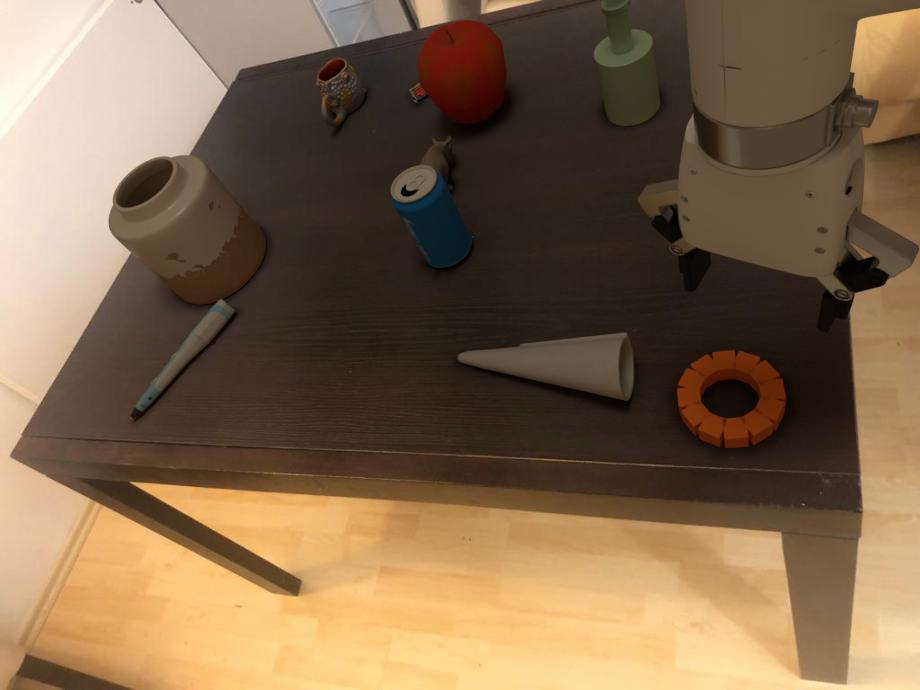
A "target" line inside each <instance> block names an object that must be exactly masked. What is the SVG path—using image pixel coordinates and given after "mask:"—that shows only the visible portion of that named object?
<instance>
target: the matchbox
mask: <svg viewBox="0 0 920 690" xmlns="http://www.w3.org/2000/svg"><path fill="white" fill-rule="evenodd" d="M409 92H410V94H411V97H412V98H415V99H413V102H414V103H416V104H419V102H418V101H419V100H421V99H422V98H423V97H425V96H428V95H427V93H426V92H425V90H424V89H423V88H422V86H421V85H420V83H419V82H417V83H416V84H415V85H414V87H411V88H410V89H409Z"/></svg>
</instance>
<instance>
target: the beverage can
mask: <svg viewBox="0 0 920 690" xmlns="http://www.w3.org/2000/svg"><path fill="white" fill-rule="evenodd" d="M390 194H391V204H392V206H393V207H394V209H395V211H396V213H397V214H398V216H399V218H400V219H401V221H402V223H403V224H404V227H405V228H406V229H407V232H408V233H409V235H410V236H411V239H412V240H413V241H414V243H415V245H416V247H417V248H418V250H419V252H420V253H421V255H422V257H423V259H424V261H425V262H426V263H427V264H428V265H430V266H431V267H433V268H439V269H440V268H442V269H443V268H448V267H451V266H454V265H456V264H458V263H459V262H461V261H462V260H463V259H464V258H466V256H467V255H468V254H469V252H470V251H471V248H472V246H473V238H472V235H471V233H470V231H469V229H468V227H467V225H466V223H465V221H464V218H463V217H462V215H461V213H460V210H459V209H458V207H457V205H456V202H455V200H454V198H453V196H452V194H451V191H449V190H448V188H447V186H446V184H445V182H444V179H443V178H442V176H441V175H440V174H439V173H437V172H436V171H435V170H434V169H433V168H432V167H430V166H426V165H420V164H418V165H415V166H411V167H409V168H407V169H405V170H403V171H402V172H401V173H399V174H398V175H397V176H396V177H395V178H394V179H393V181H392V183H391V186H390Z"/></svg>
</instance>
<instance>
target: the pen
mask: <svg viewBox="0 0 920 690" xmlns="http://www.w3.org/2000/svg"><path fill="white" fill-rule="evenodd" d="M234 313H236V310H235V308H233V307H232V306H231V305H230V304H228V303H227V302H226V301H225V300H224V299H221V300H219V301H217V302H215V304H214V305H212V307H211V308H210V309H209V310H208V311H207V313H206V314H205V315H204V316H203V317H202V318H201V320H200V321H199V322H198V323H197V325H195V327H194V328H193V329H192V330H191V331H190V333H189V334H188V336H187V337H186V338H185V340H184V341H183V342H182V343H181V344H180V346H179V348H178V349H177V350H176V351H175V352H174V353H172V355H171V357H170V359H169V360H168V362H167V363H166V364H165V366H164V367H163V368H162V370H161V371H160V372H159V373H158V375H157V376H156V377H155V378H154V379H153V380H152V381H151V383H150V384H149V386H148V387H147V389H146V390H145V391H144V393H143V394H142V395H141V396H140V398H139V399H138V400H137V402H136V404H135V405H134V408H133V410H132V412H131V414H130V416H129V420H134V419H136V418H137V417H138V416H140V414H142V413H143V412H144V411H146V409H147V408H148V407H150V406H151V405H152V404H153V403H154V402H155V400H156V399H158V397H159V396H160V395H161V394H162V393H163V392H164V390H166V388H167V387H168V386H169V385H170V384H171V382H172V381H174V379H175V378H176V377H177V376H178V375H179V373H180V372H182V370H183V369H184V368H185V367H186V366H187V365H188V363H190V362H191V360H192V359H194V358H195V357H196V356H197V355H198V354H199V353H200V352H201V351H202V350H204V348H205V347H206V346H208V345H209V344H210V343H211V341H213V339H214V338H215V337H216V336H217V334H218V333H219V332H220V331H221V330H222V328H223V327H225V325H226V324H227V323H228V322H229V320H230V319H231V318H232V316H233V315H234Z"/></svg>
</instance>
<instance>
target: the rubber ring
mask: <svg viewBox="0 0 920 690" xmlns="http://www.w3.org/2000/svg"><path fill="white" fill-rule="evenodd" d="M711 353H712V354H711V355H712V357H711V356H710V355H709V354H707V353H706V354H705V355H703V356H702V357H700V358H698V359H697V360H695V361H694V362H692V363H690V365H689V366H690V368H689V367H686V368H685V370H684V372H683V374H682V376H681V378H680V379H679V381H678V383H677V388H676V396H677V404H678V411H679V416H680V417H681V420H682V422H683V423H684V425H685V426H686V427H687V428H688V430H689V431H690V432H691V434H693V436H697V435H698V439H699V440H701V441H702V442H706V443H708V444H710V445H713V446H716V447H718V448H721V446H722V445H723V442H724V449H739V448H749V447H750V443H751V444H752V445H753V446H755V445H757V444H758V443H760V442H762V441H764V440H765V439H767V438H769V437H770V436H772V435H773V432H774V431H777V430H778V427H779V426H780V423H781V421H782V419H783V417H784V415H785V411H786V405H787V404H786V403H787V394H786V391H785V386H784V381H783V378H780V377H781V374H780V373H779V371H777V370H776V369H775V368H774V367H773V366H772V365H771V363H769V362H768V361H767V360H766V359H764V360H762V361H761V357H760V356H758V355H755V354H752V353H748V352H746V351H742V350H739V351H738V352H737V354H736V350H735V349H729V350H721V351H712V352H711ZM725 380H726V381H727V380H737V381H740V382H743V383H745V384H748V385H749V386H750V388H752V390H754V391H755V392H756V394H757V395H758V401H757V405H756V406H755V408H754V409H753V410H752V411H750V412H748V413H746V414H744V415H743V416H741V417H740V416H739V417H727V418H726V417H723V416H721V415H720V416H719V415H717V414H715V413H712V412H711V411H709V409H708V408H707V407H706V406H705V405H704V403H703V402H702V398H703V396H704V394H705V392H706V391H707V388H708V387H710V386H712V385H714V384H716V383H717V382H718V381H725Z"/></svg>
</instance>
